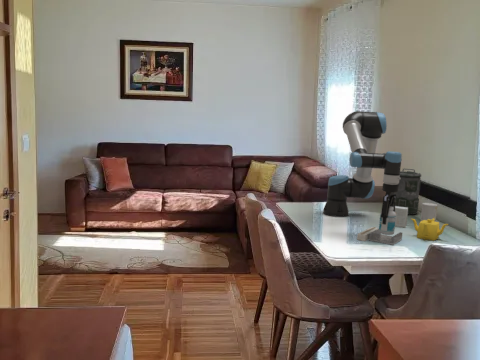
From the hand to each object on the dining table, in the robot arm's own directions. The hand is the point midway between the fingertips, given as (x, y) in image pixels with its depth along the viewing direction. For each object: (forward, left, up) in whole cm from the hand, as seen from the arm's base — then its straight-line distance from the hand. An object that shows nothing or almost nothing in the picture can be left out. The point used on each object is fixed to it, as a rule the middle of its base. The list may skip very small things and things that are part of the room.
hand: (386, 229), depth 266 cm
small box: (-5, +39, -6) cm, 40 cm away
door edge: (-9, 0, -6) cm, 11 cm away
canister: (-14, +82, -6) cm, 83 cm away
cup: (+7, +55, -6) cm, 56 cm away
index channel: (0, 0, -6) cm, 6 cm away
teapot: (+15, +22, -6) cm, 27 cm away
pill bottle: (0, 0, -2) cm, 2 cm away
